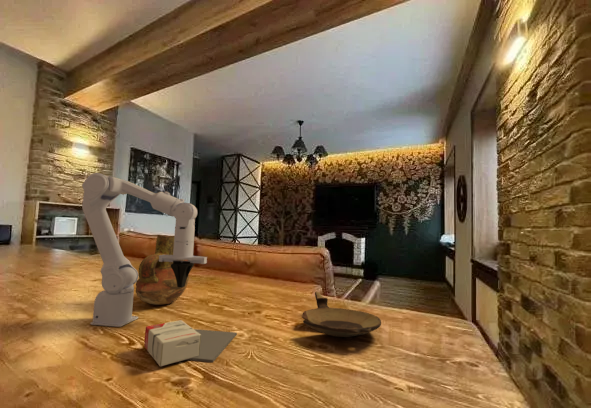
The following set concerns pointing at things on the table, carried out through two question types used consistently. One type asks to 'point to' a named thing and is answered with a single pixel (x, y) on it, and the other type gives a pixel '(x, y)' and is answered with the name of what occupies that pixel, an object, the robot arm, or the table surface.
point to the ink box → (172, 342)
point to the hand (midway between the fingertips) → (181, 286)
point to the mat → (212, 344)
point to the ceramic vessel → (159, 276)
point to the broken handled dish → (339, 320)
